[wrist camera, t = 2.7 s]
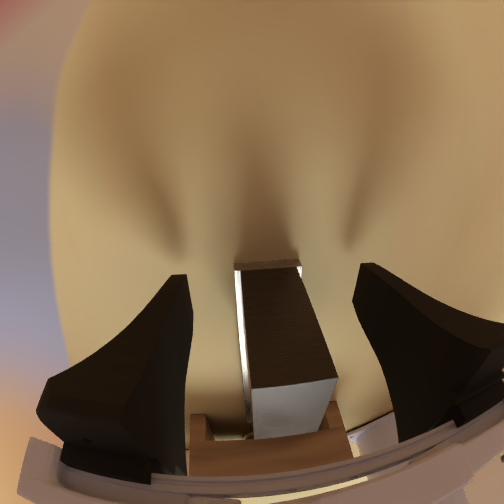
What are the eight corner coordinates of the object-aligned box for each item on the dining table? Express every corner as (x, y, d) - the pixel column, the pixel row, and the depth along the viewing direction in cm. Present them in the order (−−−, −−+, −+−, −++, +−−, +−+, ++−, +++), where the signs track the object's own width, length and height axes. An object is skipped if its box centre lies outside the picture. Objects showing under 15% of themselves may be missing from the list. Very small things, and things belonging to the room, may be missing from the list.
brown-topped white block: (233, 261, 13) (242, 389, 7) (297, 257, 13) (346, 376, 7) (246, 415, 20) (253, 488, 14) (282, 411, 21) (295, 483, 15)
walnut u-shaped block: (190, 414, 19) (189, 480, 14) (336, 401, 20) (354, 461, 15) (205, 447, 24) (206, 496, 18) (319, 436, 24) (330, 484, 19)
